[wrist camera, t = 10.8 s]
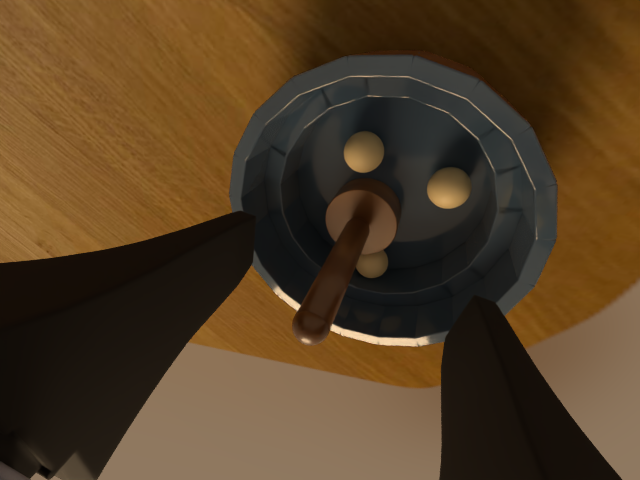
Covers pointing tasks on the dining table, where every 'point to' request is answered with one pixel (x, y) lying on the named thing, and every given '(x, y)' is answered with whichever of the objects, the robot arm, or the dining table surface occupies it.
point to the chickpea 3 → (449, 187)
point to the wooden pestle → (347, 251)
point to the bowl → (398, 191)
